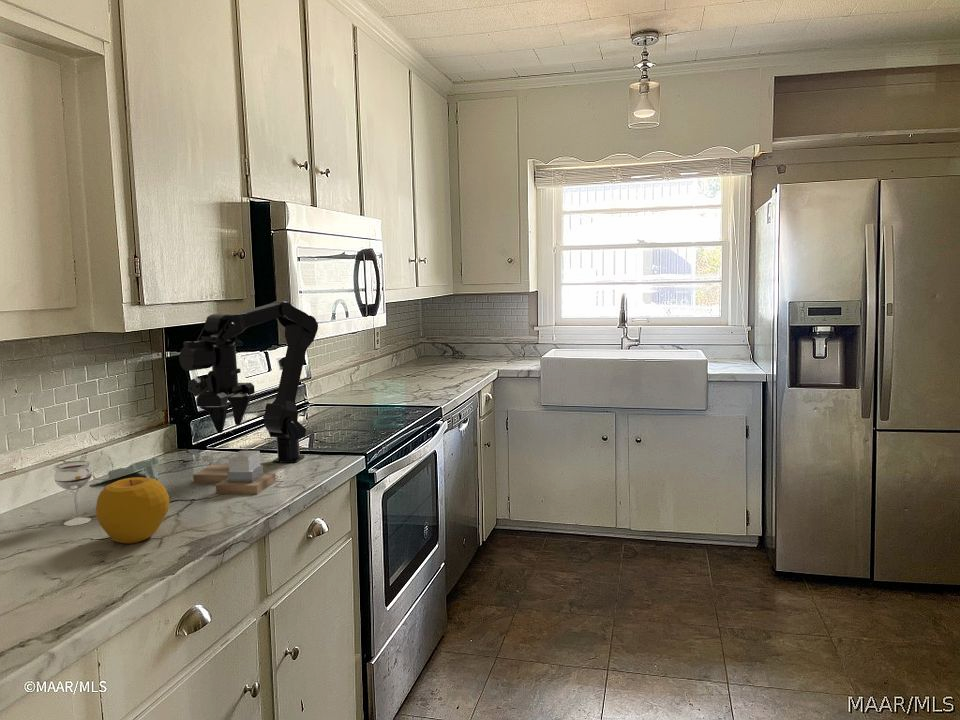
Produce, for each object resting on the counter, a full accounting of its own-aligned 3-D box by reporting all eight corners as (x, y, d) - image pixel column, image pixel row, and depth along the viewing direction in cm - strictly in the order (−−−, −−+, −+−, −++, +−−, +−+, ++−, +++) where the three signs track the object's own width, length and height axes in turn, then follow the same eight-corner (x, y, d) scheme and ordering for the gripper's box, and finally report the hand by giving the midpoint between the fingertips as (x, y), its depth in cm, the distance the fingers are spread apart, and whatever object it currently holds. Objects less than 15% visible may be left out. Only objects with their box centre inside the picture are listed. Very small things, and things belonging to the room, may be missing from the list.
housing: (239, 475, 178) (238, 450, 178) (263, 475, 177) (261, 450, 177) (227, 482, 172) (226, 457, 172) (252, 482, 172) (250, 457, 171)
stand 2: (236, 481, 181) (236, 472, 181) (275, 481, 179) (275, 473, 179) (216, 493, 171) (215, 485, 171) (257, 494, 169) (256, 485, 169)
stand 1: (214, 471, 190) (213, 463, 190) (251, 471, 189) (250, 464, 188) (193, 482, 180) (193, 474, 180) (232, 483, 179) (232, 475, 179)
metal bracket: (172, 451, 190) (126, 466, 176) (179, 472, 190) (134, 489, 176) (131, 463, 195) (83, 479, 181) (138, 484, 195) (91, 502, 181)
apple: (144, 522, 152) (139, 468, 151) (186, 532, 146) (182, 475, 144) (84, 543, 141) (78, 485, 140) (126, 555, 135) (121, 493, 133)
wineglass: (68, 516, 158) (63, 461, 156) (101, 515, 158) (96, 459, 156) (52, 527, 151) (46, 470, 149) (86, 526, 151) (81, 468, 150)
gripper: (212, 361, 192) (217, 421, 194) (172, 371, 174) (178, 437, 176) (253, 360, 190) (257, 421, 192) (217, 371, 172) (222, 437, 174)
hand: (229, 428), depth 184 cm, fingers open, 9 cm apart
